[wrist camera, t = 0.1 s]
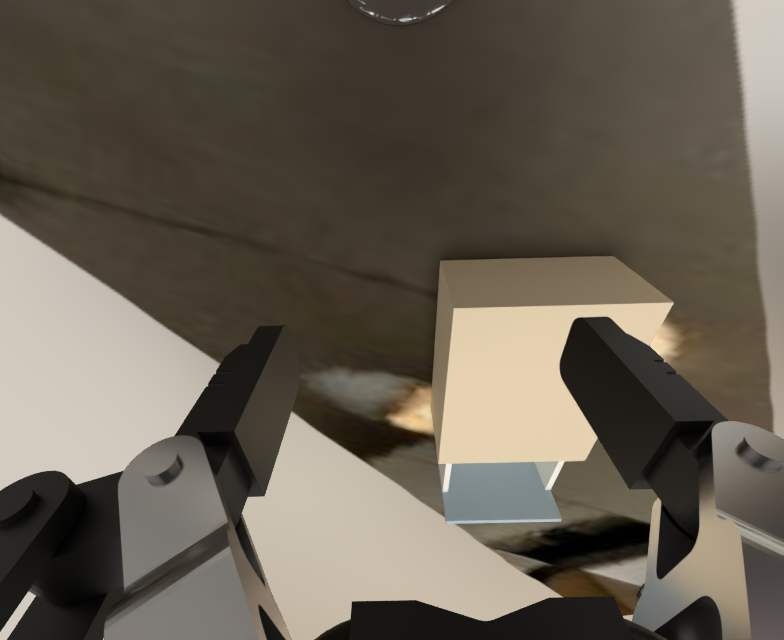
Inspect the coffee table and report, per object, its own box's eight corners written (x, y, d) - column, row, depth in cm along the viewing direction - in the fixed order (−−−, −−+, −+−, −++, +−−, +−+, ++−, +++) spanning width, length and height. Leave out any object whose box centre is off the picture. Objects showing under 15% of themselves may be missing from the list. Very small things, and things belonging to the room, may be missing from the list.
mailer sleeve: (440, 260, 27) (453, 308, 21) (613, 255, 27) (673, 302, 21) (430, 405, 37) (438, 463, 32) (554, 403, 37) (584, 460, 31)
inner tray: (453, 276, 27) (474, 339, 20) (602, 272, 26) (672, 334, 20) (436, 453, 41) (445, 523, 35) (532, 451, 41) (560, 521, 35)
